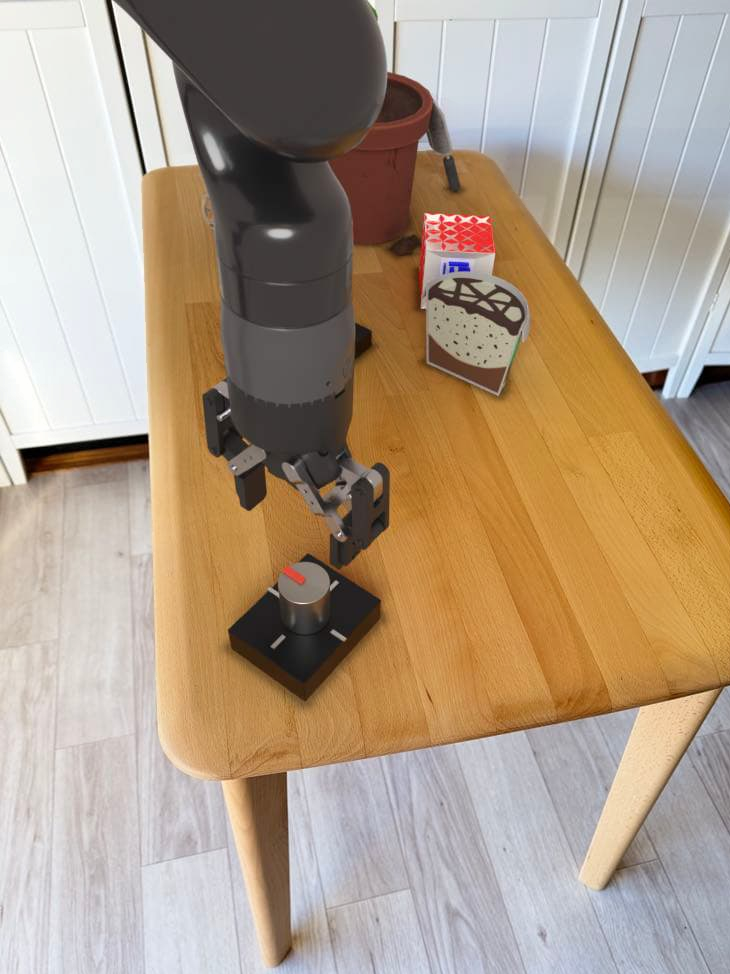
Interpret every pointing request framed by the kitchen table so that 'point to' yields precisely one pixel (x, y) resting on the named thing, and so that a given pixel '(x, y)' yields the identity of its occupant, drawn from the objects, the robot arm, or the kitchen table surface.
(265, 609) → the dial panel
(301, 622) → the dial
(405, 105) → the potted plant
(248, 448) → the robot arm
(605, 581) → the kitchen table surface
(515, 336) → the food container
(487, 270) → the red white box
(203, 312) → the kitchen table surface
